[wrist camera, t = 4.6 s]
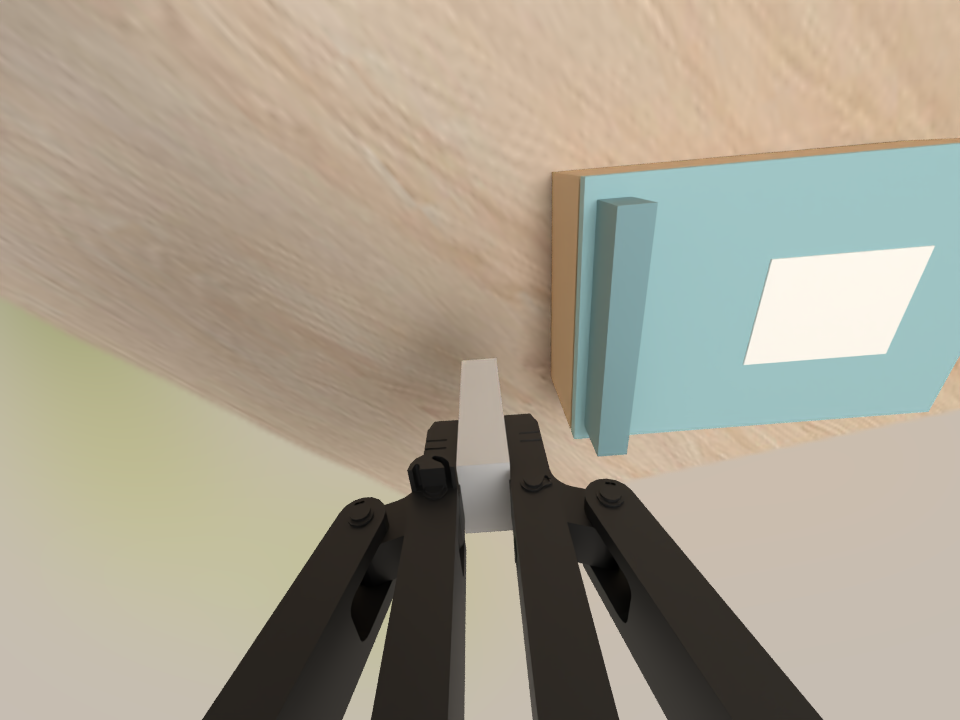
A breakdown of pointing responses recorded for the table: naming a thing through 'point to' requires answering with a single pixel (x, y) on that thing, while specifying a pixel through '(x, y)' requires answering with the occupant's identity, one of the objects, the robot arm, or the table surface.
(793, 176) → the lid
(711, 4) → the table surface
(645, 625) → the robot arm
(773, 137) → the table surface
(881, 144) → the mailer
